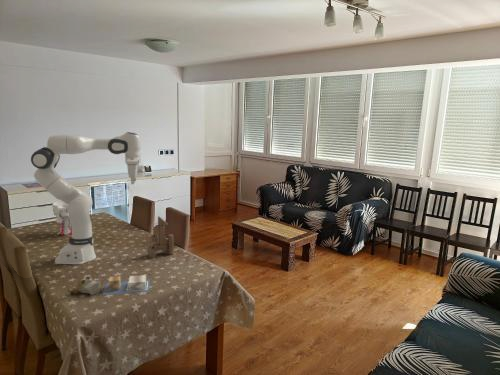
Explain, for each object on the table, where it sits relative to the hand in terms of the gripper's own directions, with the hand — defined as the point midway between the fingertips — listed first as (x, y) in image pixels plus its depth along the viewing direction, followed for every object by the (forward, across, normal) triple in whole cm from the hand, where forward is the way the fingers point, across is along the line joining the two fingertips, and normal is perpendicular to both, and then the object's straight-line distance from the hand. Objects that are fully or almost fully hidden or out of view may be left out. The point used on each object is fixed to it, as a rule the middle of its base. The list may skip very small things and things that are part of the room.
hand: (133, 182), depth 216 cm
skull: (+48, -51, -50) cm, 86 cm away
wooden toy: (+47, -1, +16) cm, 50 cm away
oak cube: (+46, +44, -7) cm, 64 cm away
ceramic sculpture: (+48, +45, -19) cm, 68 cm away
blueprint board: (+47, +44, -1) cm, 65 cm away
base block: (+46, +44, +4) cm, 64 cm away
